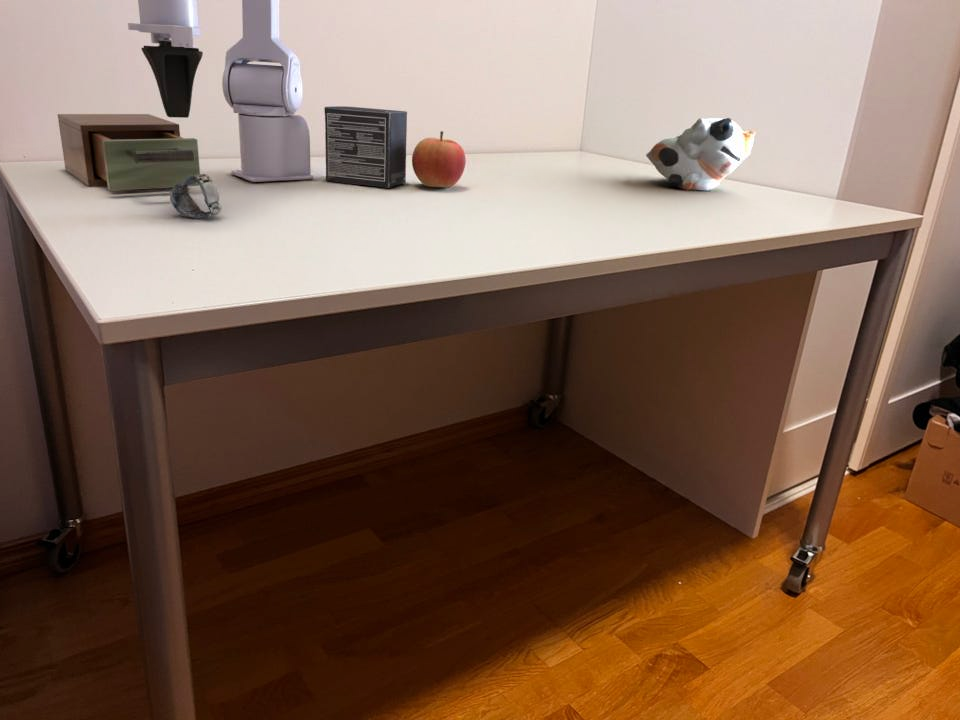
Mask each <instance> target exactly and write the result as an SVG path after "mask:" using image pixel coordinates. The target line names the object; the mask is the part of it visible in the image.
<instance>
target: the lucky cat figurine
mask: <svg viewBox="0 0 960 720" xmlns="http://www.w3.org/2000/svg"><path fill="white" fill-rule="evenodd" d="M755 135H756V131H753V130H747V131H745V130H744V131H743V130H742V128H741V127H740V125H739V124H737V122H735V121H733V120H732V118H730V117H720V118H715V117H709V118H702V117H700V118H698V119H697V120H696V121H695V123H693V124H692V126H691V127H688V128H686V129H684V131H683V132H682V134H679V135H678V136H675V137H674V138H673V137H672V138H671V137H670V138H665V139H662V140H660V141H659V142H657V143H656V144H654V146H653V147H651V149H650V150H649V152H647V153H646V154H645V156H646V158H647V159H648V160H649V161H650V163H651V164H652V165H653V166H654V168H655V169H656V171H657V172H658V173H659V174H660V175H661V176H663V177H664V178H665V179H667V180H668V181H669V182H673V183H676V185H677V187H678V188H679V189H682V190H686V191H712V190H713V189H714V188H716V187H717V186H719V185H720V183H721V181H722V180H723V179H724V178H726V177H727V176H728V175H731V173H732V172H733V171H734V170H735V169H737V167H738V166H740V164H741V163H742V162H743V161H744V160H745V159H746V158H747V157H748V156H750V154H751V150H752V148H753V143H754V140H755V138H754V137H755Z"/></svg>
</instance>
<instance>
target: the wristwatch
mask: <svg viewBox="0 0 960 720" xmlns="http://www.w3.org/2000/svg"><path fill="white" fill-rule="evenodd" d="M196 182H198V184H199V185H200V186H199V188H200V190H201V192H202V195H203V201H204V203H205V205H206V207H207V208H208V209H207V210H208V211H204V210H202V209H201V208H200V207H199V205H198V204H197V203H196V202H195V201H194V199H193V198H192V196H191V195H190V192H189V191H190V188H189V186H188V185H194V184H195V183H196ZM169 201H170V203H171V205H172V206H173V208H174V209H175V210H176V212H177V213H178V214H179V215H181V216H182V217H189V218H192V219H194V218H195V219H201V218H203V217H206V218H210V217H212V216H217V215H219V214H220V212H221V210H222V206H221V204H220V202H219V201H220V194H219V191H218V187H217V185H216V182H215V181H214V180H213V179H212V178H211V177H210V176H209V175H208V174H207V173H202V174H201V173H200V174H198V175H191V176H189V177H188V178H186V179H185V181H184V182H182V183H180V184H176V185H175V187H172V189H171V193H170V195H169Z"/></svg>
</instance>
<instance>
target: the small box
mask: <svg viewBox="0 0 960 720" xmlns="http://www.w3.org/2000/svg"><path fill="white" fill-rule="evenodd" d="M323 110H324V126H325V127H324V129H325V133H324V134H325V135H324V136H325V137H324V138H325V181H326V182H334V183H341V184H351V185H358V186H367V187H377V188H384V189H389V188H392V187H395V186H399V185H402V184H406V182H407V181H406V180H407V179H406V178H407V131H408V129H407V128H408V111H407V110H394V109H381V108H370V107H358V106H346V105H345V106H344V105H343V106H341V105H340V106H338V105H337V106H324V109H323Z"/></svg>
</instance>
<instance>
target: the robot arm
mask: <svg viewBox="0 0 960 720" xmlns="http://www.w3.org/2000/svg"><path fill="white" fill-rule="evenodd" d="M197 1H198V0H137V3H138V4H137V6H138V15H139V22H138V23H136V22H128V23H127V28H128V30H129V31H138V32H140V33H145V34H146V33H147V34H150V42H151V44H158V45H143V47H141V52H142V54H143V55H144V57H145V59H146V60H147V62H148V65H149V67H150V68H151V71H152V73H153V75H154V79H155V82H156V85H157V88H158V91H159V95H160V99H161V102H162V106H163V109H164V112H165V114H166V116H167V117H168V118H181V119H183V118H184V119H185V118H186V119H187V118H189V117H190V112H191V105H192V97H193V90H194V89H193V88H194V81H195V77H196V73H197V70H198V68H199V65H200V62H201V61H202V58H203V54H204V53H203V51H201V50H200V49H199V47H195V39H194V38H195V37H194V36H197V37H201V36H202V29H201V27H199V15H198V14H199V13H198V2H197ZM241 7H242V10H241V11H242V13H241V14H242V17H241V18H242V19H241V20H242V37H241V38H240V39H239V40H238V41H237V42H236V43H234V44H233V45H232V46H231V47H230V48H228V49H227V50H226V52H225V57H224V58H225V59H224V61H225V62H224V69H223V72H222V79H221V81H222V82H221V83H222V85H221V86H222V92H223V96H224V100H225V101H226V103H227V104H228V106H229V107H230V108H231V109H232V111H233V113H234V114H237V118H238V119H237V120H238V134H239V151H240V152H239V153H240V168H241V169H234V170H231V175H233V176H237V177H239V178H241V179H243V180H245V181H248V182H250V183H258V182H262V183H263V182H279V181H282V182H283V181H299V180H300V181H301V180H313V179H314V176H313V175H312V174H311V173H312V172H311V137H310V136H311V134H310V130H309V126H308V123H307V121H306V119H305V118H304V116H302V115H299V114H295V113H297V111H298V110H299V109H300V108H301V105H302V103H303V96H304V95H303V94H304V93H303V92H304V89H303V80H302V75H301V64H300V59H299V58H298V56H297V55H296V54H295V53H294V51H292V50H291V49H290V48H289V47H288V46H286V44H284V43H283V42H282V40H280V0H241ZM252 62H256V63H252ZM257 62H258V64H257ZM259 63H274V64H275V63H276V64H280V65H276V64H275V65H272V64H271V65H270V64H259Z"/></svg>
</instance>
